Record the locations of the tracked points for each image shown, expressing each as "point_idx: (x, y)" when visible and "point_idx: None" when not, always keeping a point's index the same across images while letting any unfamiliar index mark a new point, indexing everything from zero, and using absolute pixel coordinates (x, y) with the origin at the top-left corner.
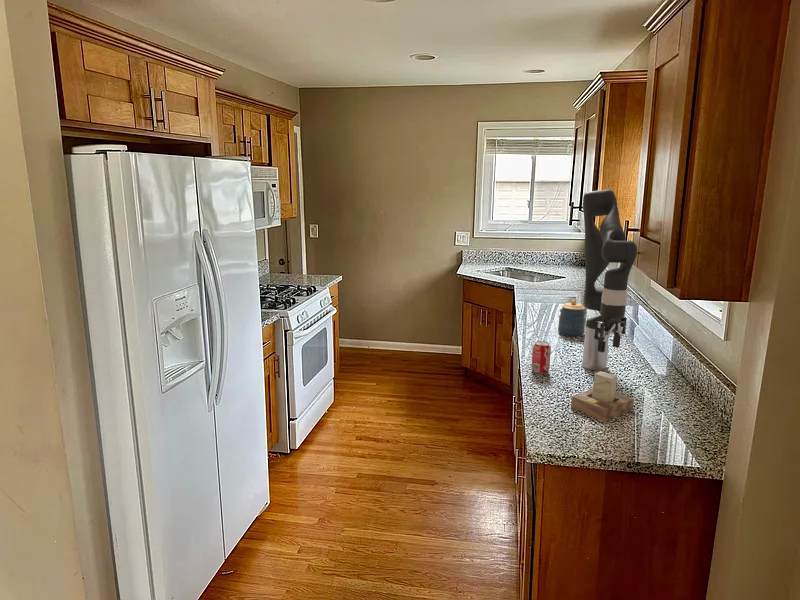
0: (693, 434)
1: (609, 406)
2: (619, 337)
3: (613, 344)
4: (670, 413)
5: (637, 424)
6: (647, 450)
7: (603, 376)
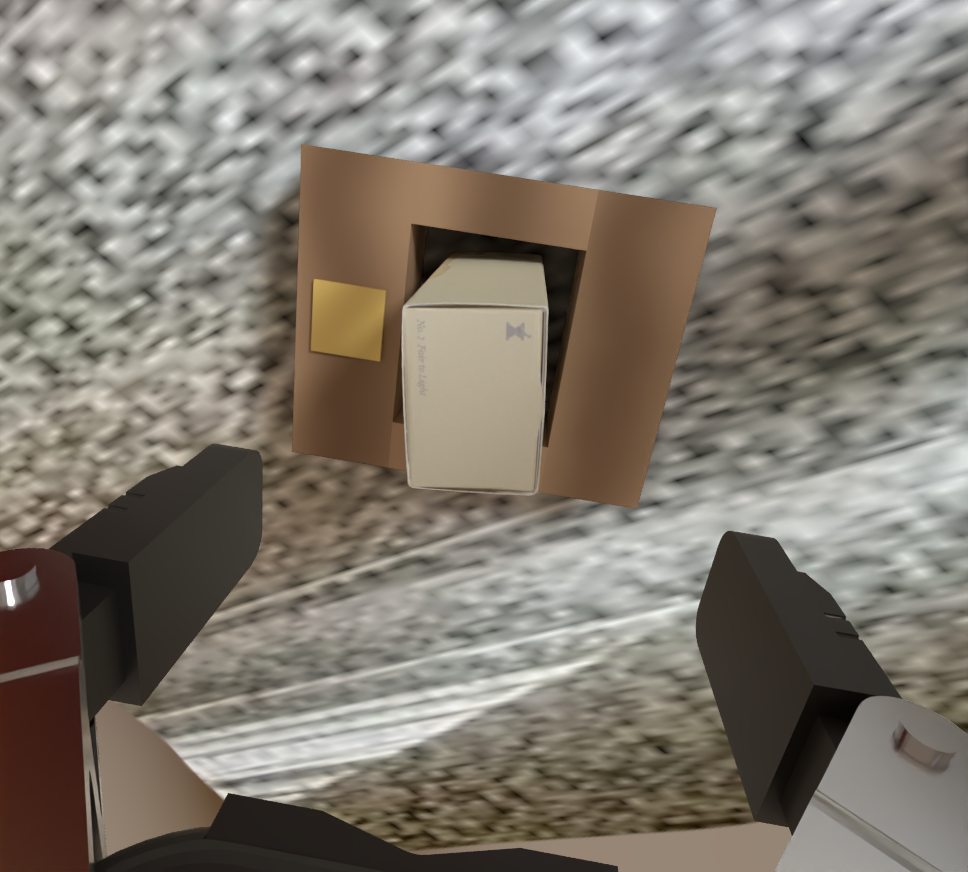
0: (532, 758)
1: (360, 444)
2: (770, 817)
3: (732, 564)
4: None
5: (433, 557)
6: (200, 669)
7: (404, 406)
